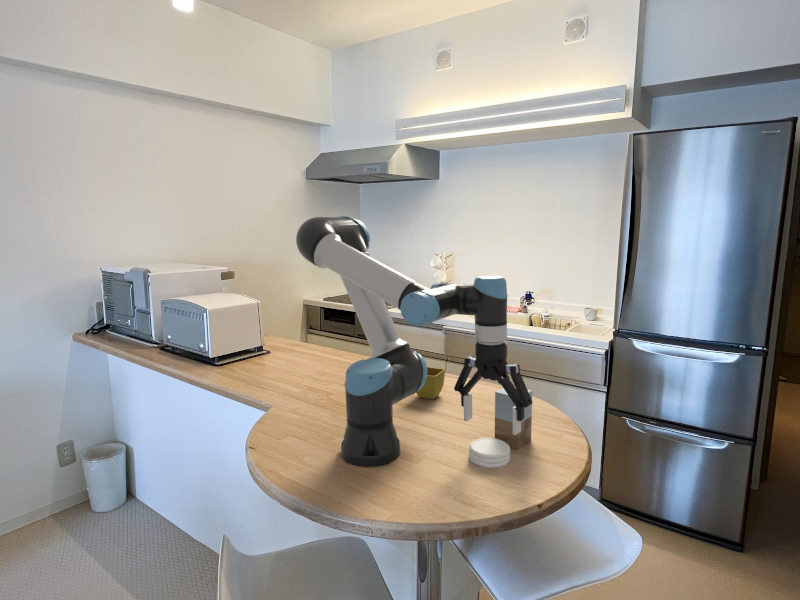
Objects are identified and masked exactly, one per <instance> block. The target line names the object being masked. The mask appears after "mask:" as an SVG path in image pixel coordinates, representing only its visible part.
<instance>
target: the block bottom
mask: <svg viewBox="0 0 800 600" xmlns="http://www.w3.org/2000/svg"><path fill="white" fill-rule="evenodd" d="M532 417H533V415H532V416H530V417H529V418H528V419H526V420H525V421H523V422H522V423H521V432H519V433H518V434H516V435H513V422H510V421H506V420H503V419H499V418H496V417H495V416H494V438H495V439H499V440H502V441H504V442H505V443H507V444H508V445H509V447H510V449H511V448H512V449H514V450H518V451H519V450H521V449H522V448H523V447H524V446H526V445H528V443H529V442H531V441H532V419H533V418H532Z"/></svg>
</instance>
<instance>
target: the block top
mask: <svg viewBox="0 0 800 600" xmlns="http://www.w3.org/2000/svg"><path fill="white" fill-rule="evenodd" d="M514 387H515V385H514ZM527 390H528V392H529V395H530V397H531V399H532V400H533V390H532V389H528V388H527ZM513 407H515V404H514V403H513V401H512V400H511V399H510V397H509V396H508V394H507V393H506V391H505V390H504V388H503V387H502V388H500V389H498V390H496V391H494V418H495V417H496V418H499V419H503V420H506V421H510V422H513ZM530 416H532V417H533V403H532V404H531V405H530V406H528V407H524V419H523V420H522V421H521V423H522V422H523V421H525V420H526V419H528V418H529V417H530Z"/></svg>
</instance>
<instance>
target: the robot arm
mask: <svg viewBox="0 0 800 600" xmlns="http://www.w3.org/2000/svg"><path fill="white" fill-rule="evenodd" d="M295 242H296V246H297V249H298V252H299V254H300V255H301V256H302V257H303V258H304V259H305V260H306V261H308V262H309V263H310V264H312V265H314V266H316V267H318V268H320V269H322V270H323V269H329V270H330V271H332V272H335V273H336V274H338V275H339V276H340V278H341V281H342V283H343V286H344V287H345V288H344V289H345V290H346V293H347V295H348V297H349V299H350V302H351V305H352V307H353V310H354V311H355V315H356V316H357V319H358V321H359V323H360V325H361V328H362V331H363V333H364V336H365V337H366V340H367V342H368V344H369V348H370V349H371V355H370V357H369V358H367V359H360V360H357V361H355V362H353V363H352V364H351V365H350V366H348V368H347V369H346V371H345V381H344V389H345V405H346V407H345V408H346V426H345V431H344V435H343V440H342V441H341V445H340V455H341V458H342V459H343V460H344V461H345V462H347V463H348V464H350V465H354V466H358V467H377V466H382V465H386V464H390V463H392V462H393V461H395V460H396V459H397V458H399V456H400V454H401V442H400V439H399V438H398V435H397V431H396V427H395V425H394V420H393V419H394V418H393V415H394V413H393V409H394V407H393V406H394V405H395V404H397V403H399V402H401V401H402V400H404V399H406V398H408V397H410V396H413V395H416V394H417V393H416V392H417V391H418V390H419V389H421V388H422V387H423V385H424V384H425V381H426V379H427V367H428V365H427V363H426V361H425V359H424V357H423V355H421V354H420V353H418V352H417V351H415V350H412V348H411V346H410V344H409V342H408V341H406V340H403V339H402V338H401V337H400V334H399V332H398V329H397V327H396V325H395V323H394V320H393V317H392V316H391V313H390V311H389V309H388V307H387V304H389V305H391V306H392V307H394V308H396V309H398V310H399V311H400V314H401V317H402V318H403V320H404V321H405V322H406V323H407V324H408V325H410V326H415V327H421V326H428V325H431V324H432V323H434V322H436V321H439V320H442V319H446V318H448V317H451V316H453V315H454V316H455V315H463V316H474V340H475V343H474V352H475V354H474V355H475V357H474V356H473V355H470V356H467V357H464V359H463V361H464V363H463V368H462V369H461V372H460V373H459V376H458V378H457V380H456V383H455V385H454V387H453V390H454V391H455V392H458V393H459V394H460V403H461V404H460V405H461V407H463V421H464V422H467V421H469V420H471V419H473V393H472V392H471V391H472V389H473V388H474V387H475V385H476V384H477V383H478V382H479V381H480V380H481V379H482V378H483V380H490V381H495V382H496V381H497V383H498V384H499V385H501V386H502V388H504V390H505V391H506V393H507V394H508V396H509V397H510V399H511V400H512V401H513V403H514V404H515V407H513V435H516V434H518V433H519V432H521V421H522V420H523V419H524V407H528V406H530V405H531V404H532V405H533V398H532V399H531V397H530V395H529V392H528V390H527V389H528V388H527V386H526V384H525V380H524V379H523V377H522V374H521V368H520V365H519V363H514V364H508V362H507V359H508V343H507V339H508V297H509V296H508V288H507V286H508V285H507V280H506V278H505V277H503V276H501V275H480V276H477V277H475V278H474V281H473V282H474V283H473V284H465V283H449V282H441V283H440V282H439V283H437V282H436V283H433V284H432V285H431V287H429V288H428V287H426V286H424V285H422V284H421V283H418V282H417V281H415V280H414V279H412V278H409V277H408V276H406V275H404V274H403V273H401V272H398V271H397V270H395V269H394V268H391V267H389V266H388V265H386V264H384V263H382V262H380V261H378V260H376V259H375V258H373V257H371V256H370V255H371V254H370V251H369V248H370V242H371V235H370V232H369V230H368V228H367V226H366V225H365V224H364V222H362V221H361V220H359V219H357V218H355V217H350V216H345V215H344V216H334V217H333V216H330V217H329V216H328V217H326V216H324V217H323V216H317V217H316V216H315V217H312V218H309V219H307V220H306V221H304V222H303V223H302V224H301V225H300V226H299V228H298V230H297V232H296V237H295ZM386 303H387V304H386ZM474 366H475V367H476V372H474V374H473V376H472V377H470V379H469V380H468V378H469V376H470V373H471V371H472V370H473V368H474ZM507 371H508V373H507ZM509 374H510V376H509ZM510 378H511V380H510ZM467 381H468V382H467ZM466 382H467V383H466ZM514 386H515V387H514Z"/></svg>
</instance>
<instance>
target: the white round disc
mask: <svg viewBox="0 0 800 600" xmlns="http://www.w3.org/2000/svg"><path fill="white" fill-rule="evenodd" d="M468 448H469V451H468V453H469V455H468V457H469V460H470V461H471V463H473V464H475V465H477V466H479V467H481V468H486V469H487V468H488V469H499V468H503V467H504V466H506V465H508V464H509V463H510V460H511V447H509V445H508V444H507V443H505V442H504V441H502V440H499V439H495V437H481V438H477V439H474V440H473V441H471V442H470V444H469V446H468Z"/></svg>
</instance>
